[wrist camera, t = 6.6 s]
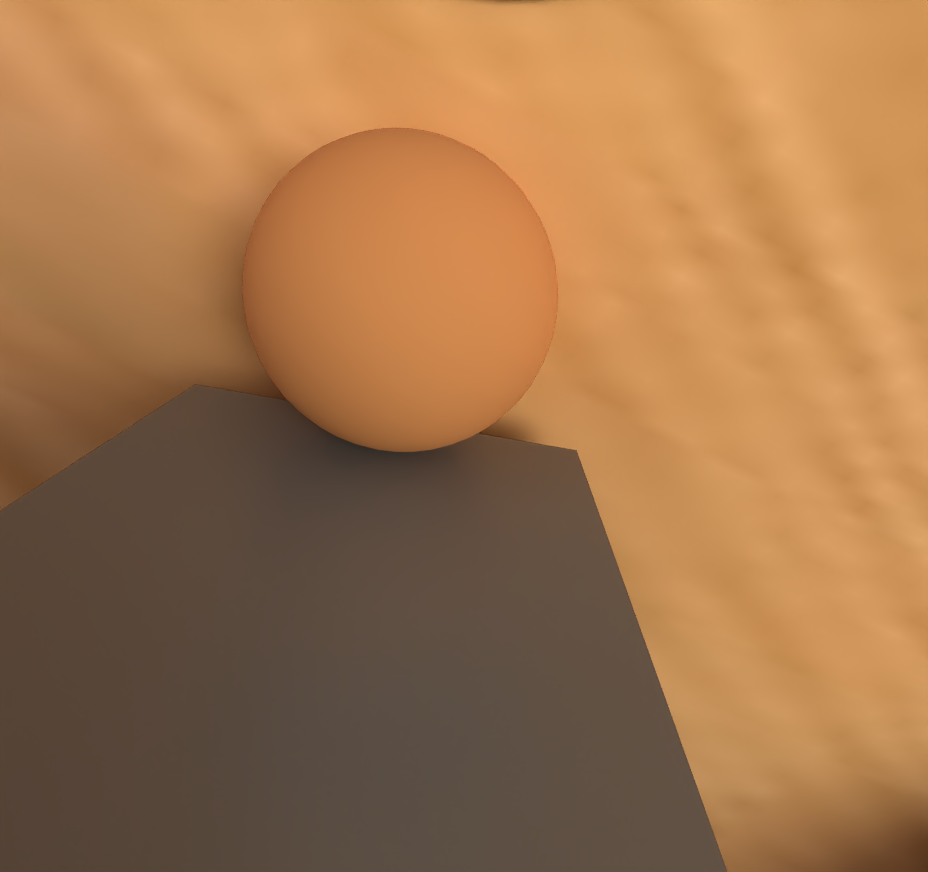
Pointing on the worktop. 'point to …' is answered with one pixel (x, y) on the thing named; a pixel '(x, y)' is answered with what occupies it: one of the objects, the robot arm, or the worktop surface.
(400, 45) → the worktop surface
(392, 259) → the ball
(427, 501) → the matte grey cube
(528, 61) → the worktop surface
